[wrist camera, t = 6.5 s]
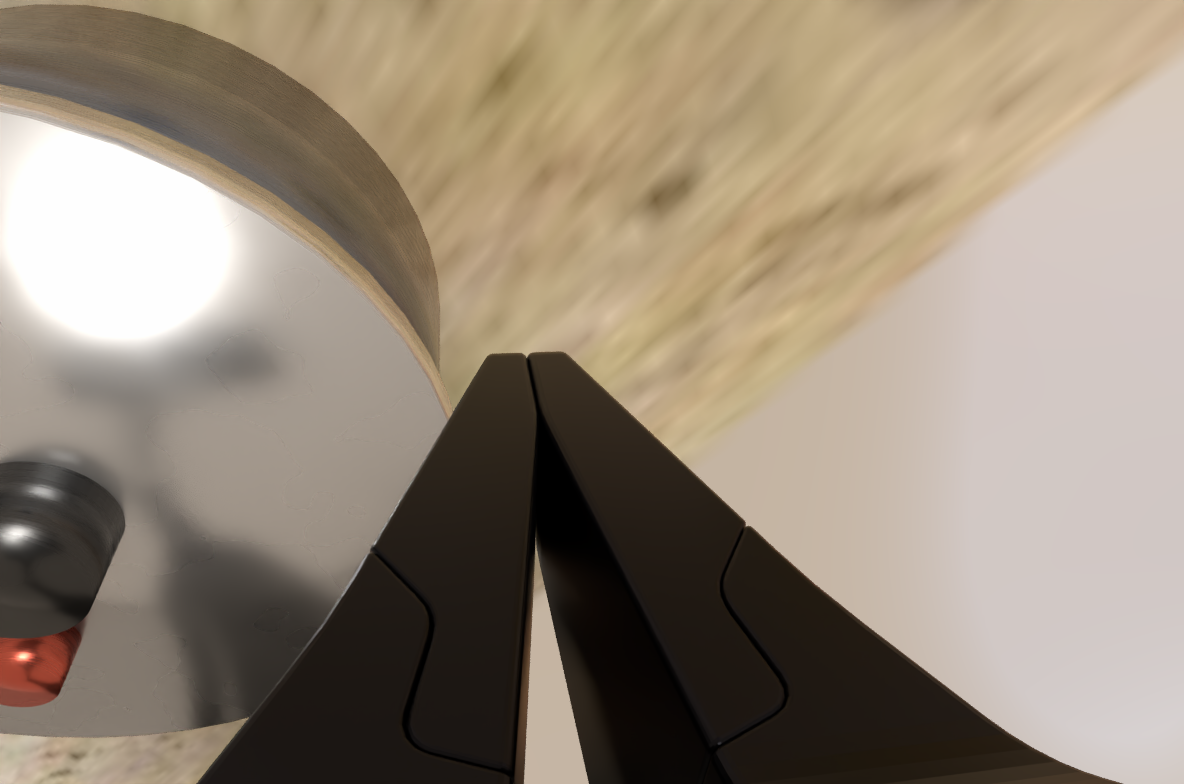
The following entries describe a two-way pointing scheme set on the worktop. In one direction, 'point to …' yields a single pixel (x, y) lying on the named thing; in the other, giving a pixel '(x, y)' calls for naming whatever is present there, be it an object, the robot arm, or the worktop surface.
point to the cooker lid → (179, 427)
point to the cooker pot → (232, 129)
